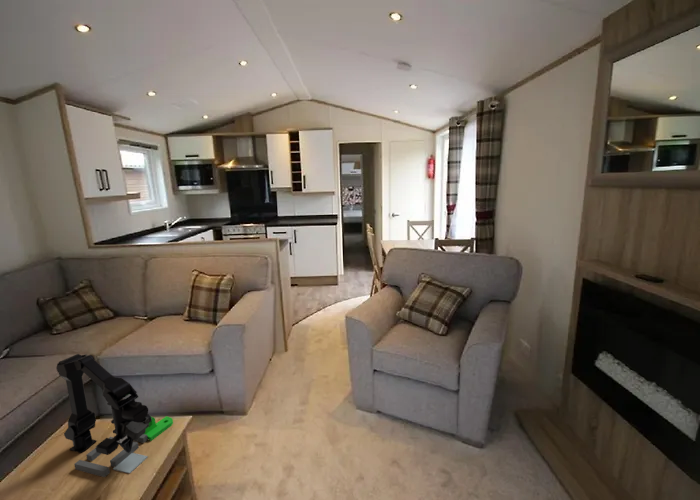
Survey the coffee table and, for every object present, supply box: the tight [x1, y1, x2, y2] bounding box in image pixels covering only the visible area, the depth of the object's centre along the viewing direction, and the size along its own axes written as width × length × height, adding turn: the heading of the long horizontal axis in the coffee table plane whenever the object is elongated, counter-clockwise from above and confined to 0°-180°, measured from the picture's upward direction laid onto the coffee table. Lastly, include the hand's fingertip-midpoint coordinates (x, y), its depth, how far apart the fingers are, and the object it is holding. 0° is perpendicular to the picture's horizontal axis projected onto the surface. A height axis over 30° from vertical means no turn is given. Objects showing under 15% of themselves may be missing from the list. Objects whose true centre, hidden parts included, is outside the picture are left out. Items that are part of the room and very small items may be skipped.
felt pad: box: [112, 452, 149, 475], centre depth 129 cm, size 8×8×1 cm
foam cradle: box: [73, 434, 149, 478], centre depth 134 cm, size 14×19×2 cm
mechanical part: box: [144, 415, 174, 442], centre depth 146 cm, size 12×6×8 cm, turn 156°
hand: (128, 451), depth 128 cm, fingers closed
